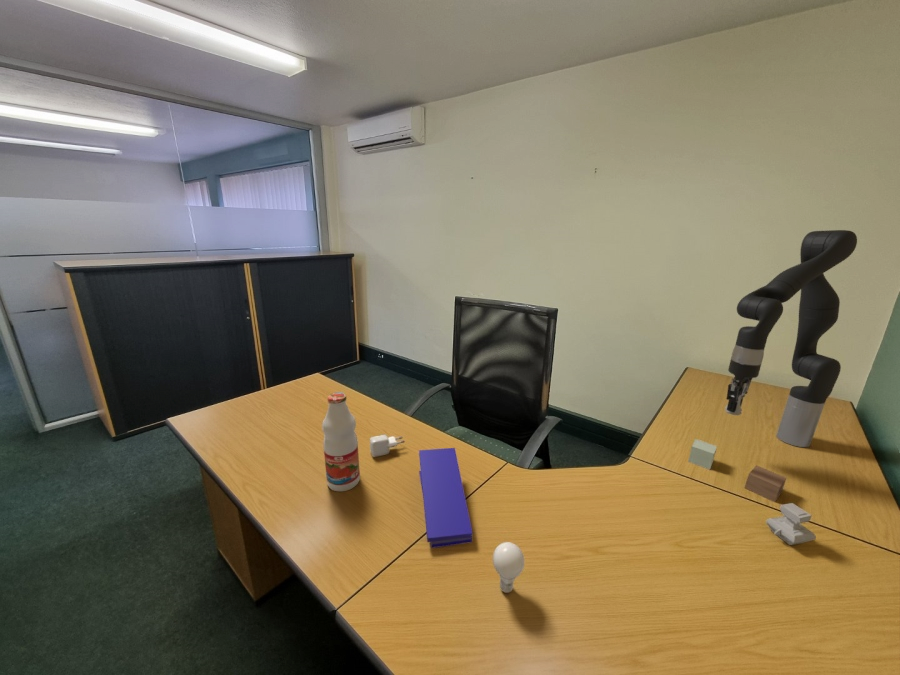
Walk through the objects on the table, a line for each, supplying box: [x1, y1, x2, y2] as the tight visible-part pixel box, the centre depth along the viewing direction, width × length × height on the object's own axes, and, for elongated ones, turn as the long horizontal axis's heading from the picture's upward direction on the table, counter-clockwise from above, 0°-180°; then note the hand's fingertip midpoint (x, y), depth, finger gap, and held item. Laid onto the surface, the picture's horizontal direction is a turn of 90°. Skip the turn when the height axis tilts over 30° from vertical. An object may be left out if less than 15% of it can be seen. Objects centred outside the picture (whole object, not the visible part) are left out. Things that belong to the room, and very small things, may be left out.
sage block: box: [687, 438, 718, 471], centre depth 118 cm, size 6×6×6 cm
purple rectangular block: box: [418, 447, 473, 549], centre depth 97 cm, size 12×28×10 cm, turn 11°
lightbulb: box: [492, 541, 525, 594], centre depth 74 cm, size 6×6×11 cm
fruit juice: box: [321, 392, 361, 492], centre depth 102 cm, size 9×9×28 cm
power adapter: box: [369, 434, 405, 458], centre depth 120 cm, size 11×5×6 cm, turn 113°
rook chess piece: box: [724, 391, 744, 416], centre depth 116 cm, size 4×4×8 cm
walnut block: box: [744, 464, 787, 503], centre depth 105 cm, size 7×7×5 cm
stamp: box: [765, 502, 817, 546], centre depth 88 cm, size 9×7×8 cm
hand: (733, 408), depth 117 cm, fingers closed on rook chess piece, 4 cm apart
